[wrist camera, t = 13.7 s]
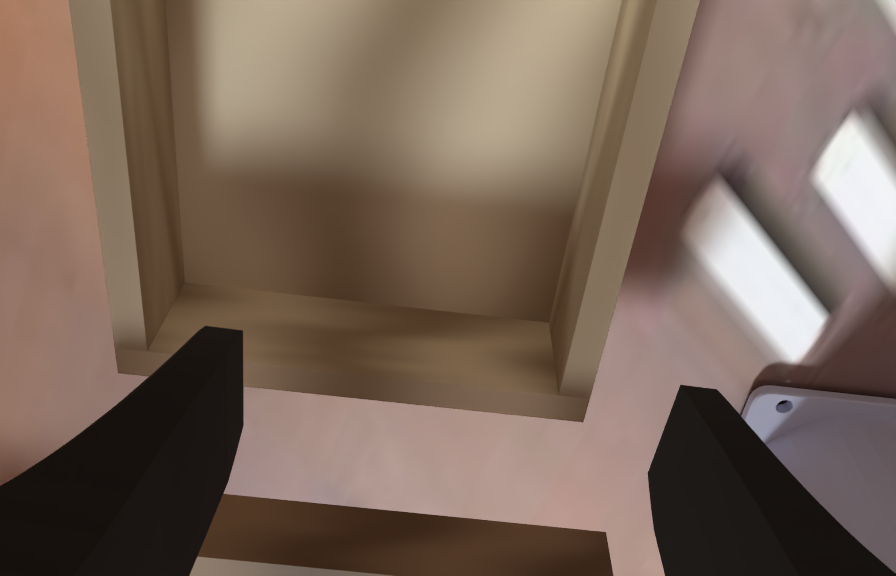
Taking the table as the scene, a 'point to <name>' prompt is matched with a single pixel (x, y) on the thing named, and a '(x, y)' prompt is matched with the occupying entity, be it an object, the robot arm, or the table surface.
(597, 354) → the open wooden tray
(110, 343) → the table surface
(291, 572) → the brown rectangular block
